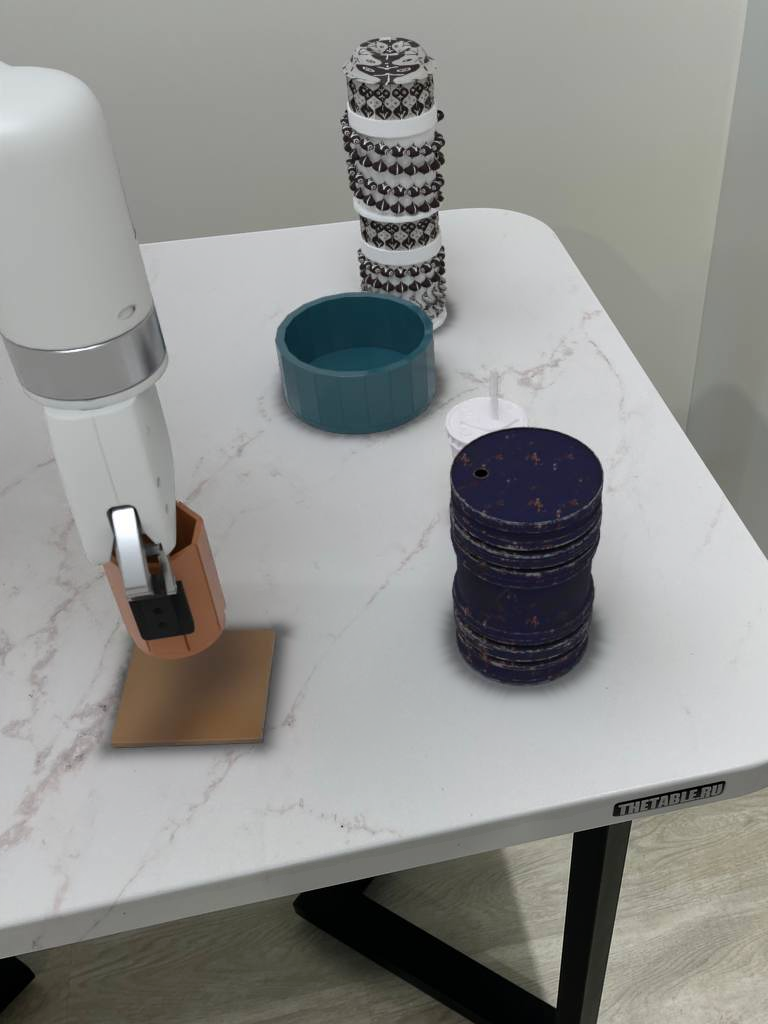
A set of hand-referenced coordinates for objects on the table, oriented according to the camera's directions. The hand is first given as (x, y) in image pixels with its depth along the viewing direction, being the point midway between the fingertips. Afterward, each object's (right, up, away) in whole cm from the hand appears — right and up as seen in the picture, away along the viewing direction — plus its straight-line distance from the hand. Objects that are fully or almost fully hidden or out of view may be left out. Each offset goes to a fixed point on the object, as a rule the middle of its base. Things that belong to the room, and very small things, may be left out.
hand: (168, 592), depth 66 cm
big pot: (+9, +20, +32) cm, 39 cm away
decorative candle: (+12, +30, +41) cm, 52 cm away
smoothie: (+20, +7, +19) cm, 29 cm away
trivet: (0, -6, +7) cm, 10 cm away
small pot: (0, -2, +2) cm, 3 cm away
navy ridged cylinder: (+23, -3, +10) cm, 25 cm away
